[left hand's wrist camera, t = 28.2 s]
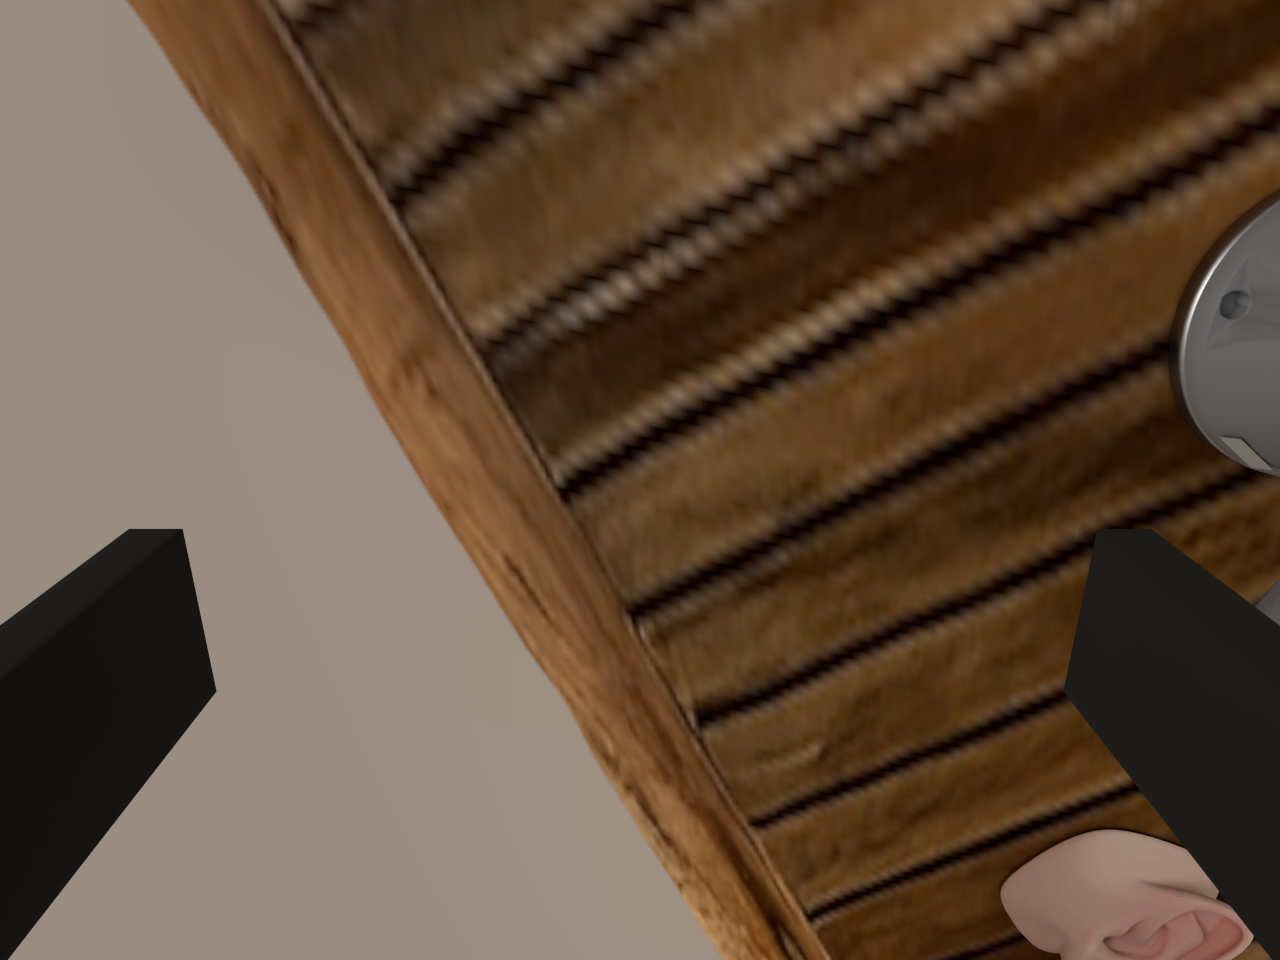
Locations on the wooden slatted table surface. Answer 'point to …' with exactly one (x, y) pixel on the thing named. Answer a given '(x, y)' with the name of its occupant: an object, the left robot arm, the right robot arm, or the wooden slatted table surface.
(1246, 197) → the wooden slatted table surface
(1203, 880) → the anatomical model
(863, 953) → the wooden slatted table surface
